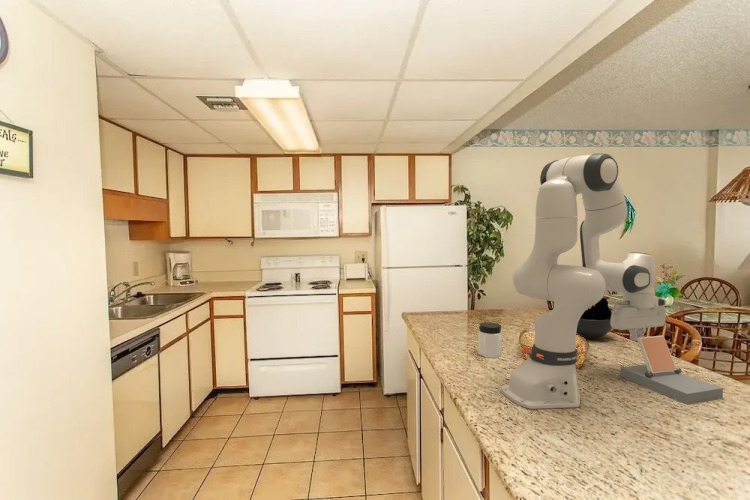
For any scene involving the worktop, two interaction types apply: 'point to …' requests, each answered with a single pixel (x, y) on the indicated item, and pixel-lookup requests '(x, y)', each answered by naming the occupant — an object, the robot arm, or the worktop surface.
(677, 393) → the stand
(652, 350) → the tile
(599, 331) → the coal bowl
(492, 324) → the jar
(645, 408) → the worktop surface
